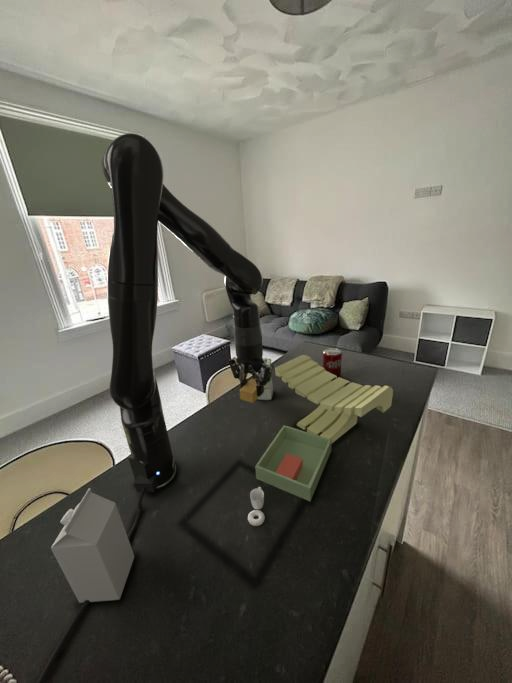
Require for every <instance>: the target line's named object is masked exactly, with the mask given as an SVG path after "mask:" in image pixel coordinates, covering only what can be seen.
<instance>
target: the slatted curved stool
mask: <svg viewBox="0 0 512 683" xmlns="http://www.w3.org/2000/svg"><path fill="white" fill-rule="evenodd" d="M274 369H275V376H276V377H278V378H281V382H282V383H285V384H287V383H288V388H290V389H291V390H294V393H295V394H296V395H298V396H300V397H302V398H304V399H305V398H306V399H307V400H308V401H310V402H312V403H313V404H315V405H318V406H317V407H316V408H315V409H314V410H313V411H311V413H309V414H307V415H306V416H305V417H304V418H302V419H300V420H299V421H298V422H297V423H296V426H297V427H298V428H300V429H302V431H306V432H308V433H311V434H315V435H318V436H321V437H325V438H328V439H331V440H332V442H331V445H332V444H333V443H335V441H337V440H338V439H340V438H341V437H342V436H343V435H344V434H346V433H347V432H348V431H349V430H350V429H352V428H353V427H354V426H355V425H357V423H358V417H360V418H362V417H363V416H365V415H366V414H368V413H369V412H371V411H372V410H374V409H375V408H376V409H377V410H379V411H380V412H381V413H385V412H386V411H388V410H389V409H390V408H391V407H392V403H393V396H394V389H393V387H392V386H390V385H384V386H380V385H377V384H376V385H374V386H372V385H369V384H365V385H363V384H360V383H356V382H352V381H351V382H350V381H349V380H347V379H345V378H342V377H341V378H340V377H338V378H337V376H336V375H334V374H332V373H329V372H327V371H325V368H323V366H321V365H319V363H318V362H316V361H314V360H313V358H312V357H311V356H309V355H306V354H301V355H299V356H297V357H295V358H292V359H290V360H288V361H285V362H283V363H282V364H280V365H278V366H275V367H274Z"/></svg>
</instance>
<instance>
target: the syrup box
mask: <svg viewBox="0 0 512 683" xmlns="http://www.w3.org/2000/svg"><path fill="white" fill-rule="evenodd" d="M262 358H263V360H264V363H265V364H267V365H270V364H272V359H271V358H265V357H262ZM261 369H262V372H263V371H264V370H263V367H262V368H261ZM264 373H265V372H263V377H264ZM256 374H257V373H256ZM254 380H255V379H254ZM264 387H265V391H264V393H263V394H262V395H261V396H260V397H258V398H257V400H260V401H269V400H270V401H272V398H273V395H274V381H273V373H272V374H271V377H270V381H269V382H268V383H267V384H266V385H265V386H264Z"/></svg>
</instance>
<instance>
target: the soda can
mask: <svg viewBox="0 0 512 683" xmlns="http://www.w3.org/2000/svg"><path fill="white" fill-rule="evenodd" d="M342 357H343V352H342V350H341V349H339V348H335V347H328V348H325V349H324V350H323V352H322V367H323V368H325V371H327V372H329V373H332V374H334V375H336V376H337V378H338V377H340V378H342V359H343V358H342Z"/></svg>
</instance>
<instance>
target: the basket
mask: <svg viewBox="0 0 512 683" xmlns="http://www.w3.org/2000/svg"><path fill="white" fill-rule="evenodd" d="M331 442H332V440H331V439H328V438H325V437H321V436H318V435H315V434H311V433H308V432H307V431H306V430H301V429H298V428H295V427H291V426H288V425H285V424H284V425H283V426H282V427H281V428H280V430H279V431H278V433H277V434H276V436H275V437H274V439H273V440H272V441H271V443H270V444H269V445H268V447H267V449H266V450H265V452H263V454H262V455H261V457H260V459H259V460H258V462H257V463H256V464H255V466H254V470H255V479H256V480H259V481H261V482H263V483H265V484H267V485H270V486H272V487H275V488H277V489H279V490H282V491H284V492H286V493H288V494H291V495H294V496H295V497H298V498H301V499H303V500H304V501H305V500H306V501H308V502H311V501H312V498H313V496H314V494H315V491H316V489H317V487H318V484H319V482H320V479H321V477H322V474H323V472H324V469H325V467H326V465H327V462H328V460H329V458H330V455H331V452H332V444H331ZM286 454H290V455H293V456H295V457H298V458H301V459H302V463H303V468H302V470H301V472H300V474H299V476H298V478H297V480H293V479H290V478H288V477H285V476H283V475H280V474H278V473H275V472H276V471H277V469H278V467H279V466H280V464H281V462H282V460H283V459H284V457H285V455H286Z"/></svg>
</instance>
